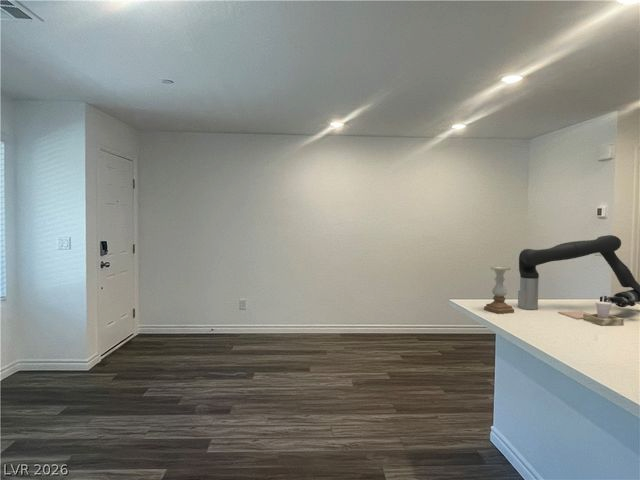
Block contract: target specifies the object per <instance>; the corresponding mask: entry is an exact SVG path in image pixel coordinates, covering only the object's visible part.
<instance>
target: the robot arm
mask: <svg viewBox="0 0 640 480" xmlns="http://www.w3.org/2000/svg"><path fill="white" fill-rule="evenodd" d="M621 246H622V240H621V239H620V238H619V237H618V236H616V235H613V234H610V235H609V234H608V235H602V236H601V235H600V236H598V237H597V238H596V239H590V240H589V239H588V240H575V241H568V242H563V243H559V244H556V245H555V246H553V247H549V248H544V249H543V248H542V249H533V248H532V249H531V248H524V249H523V250H521V251H520V253H519V256H518V273H519V275H520V277H519V280H520V281H519V282H520V283H519V290H517V292H518V293H517V307H518V308H520V309H523V310H538V309H539V283H540V282H539V281H540V280H539V279H540V278H539V276H540V275H539V272H538V270H537V266H539V265H542V264H546V263H551V262H559V261H568V260H572V259H573V260H574V259H577V258H578V259H579V258H582V257H586V256H590V255H592V254H593V255H594V254H597V253H600V255H601V257H603V259H604V260H605V261H606V263H607V264H608V265H609V267H610V269H611V270H612V271H613V273H614V274H615V277H616V279H617V280H618V282H619V284H620V286H621V287H623V288H632V289H627V290H625V291H620V292H617V293H615V294H614V295H613V296H607V295H604V302H608V303H611V305H615V306H617V307H619V308H625V307H629V306H630V307H635V306H636V305H637V304H636V303H640V284H639V283H638V281H637V280H636V278H635V276H634V275H633V274H632V271H631V270H630V268H629V267H628V266H627V265H626V264H625V263H624V262H623V261H622V260H621V259H620V258H619V257H618V255H617V254H616V251H618V250H619V249H620V248H621ZM599 297H600V298H599V302H602V300H603V295H601V296H599Z"/></svg>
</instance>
